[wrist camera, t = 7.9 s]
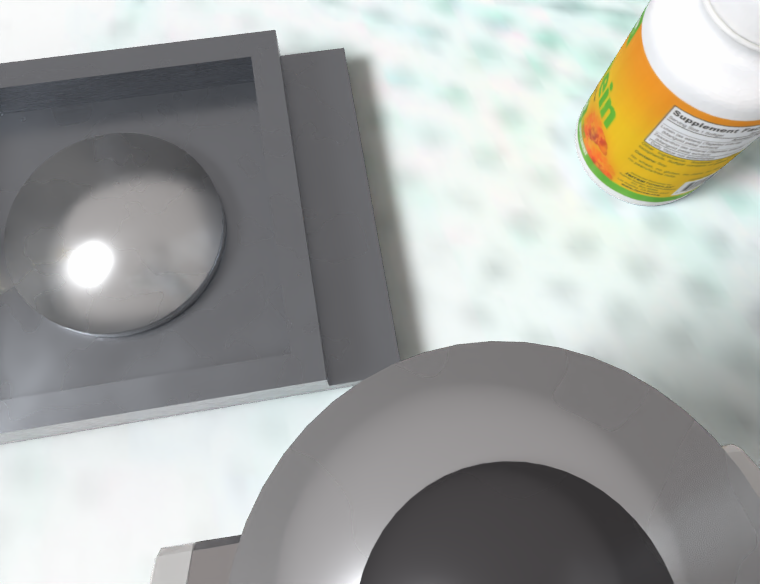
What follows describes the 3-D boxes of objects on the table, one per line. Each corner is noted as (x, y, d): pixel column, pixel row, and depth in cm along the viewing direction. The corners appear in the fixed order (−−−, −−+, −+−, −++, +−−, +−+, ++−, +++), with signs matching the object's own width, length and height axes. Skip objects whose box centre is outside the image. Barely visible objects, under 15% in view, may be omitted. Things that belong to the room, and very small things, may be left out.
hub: (526, 389, 14) (713, 298, 6) (586, 648, 13) (922, 937, 5) (288, 431, 14) (180, 388, 6) (323, 699, 13) (240, 1096, 5)
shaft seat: (344, 64, 25) (342, 6, 22) (400, 378, 22) (407, 362, 19) (-116, 122, 24) (-189, 69, 21) (-133, 466, 21) (-223, 466, 17)
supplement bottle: (584, 74, 26) (713, -153, 16) (713, 106, 25) (920, -105, 16) (559, 189, 24) (686, 13, 15) (696, 225, 24) (913, 69, 15)
